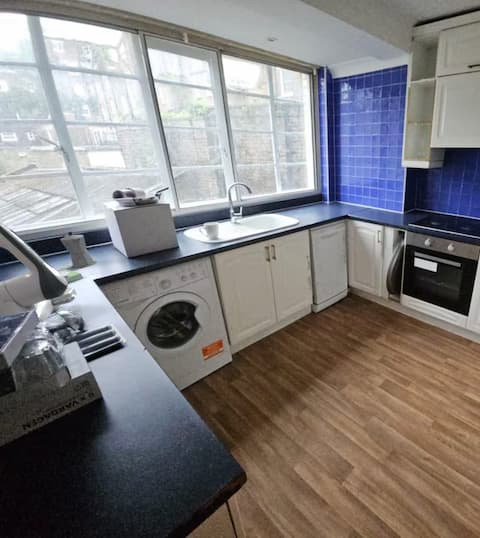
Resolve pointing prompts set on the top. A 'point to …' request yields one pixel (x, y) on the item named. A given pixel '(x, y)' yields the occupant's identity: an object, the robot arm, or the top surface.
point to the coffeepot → (77, 250)
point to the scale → (70, 275)
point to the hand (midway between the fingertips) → (40, 294)
